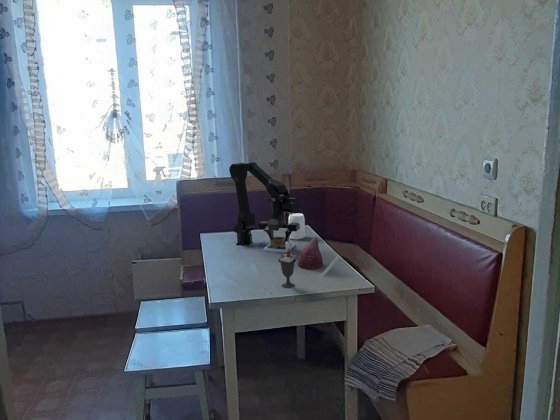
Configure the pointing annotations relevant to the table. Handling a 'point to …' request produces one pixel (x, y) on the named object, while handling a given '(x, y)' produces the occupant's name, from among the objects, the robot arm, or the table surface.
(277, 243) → the ring
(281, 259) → the sundae
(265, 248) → the tray
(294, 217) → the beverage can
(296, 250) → the table surface
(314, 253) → the vegetable
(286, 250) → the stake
